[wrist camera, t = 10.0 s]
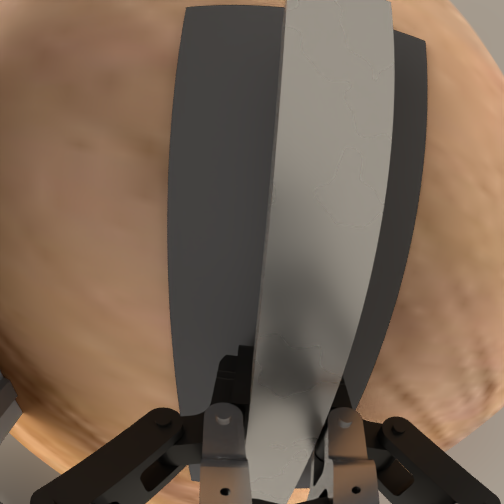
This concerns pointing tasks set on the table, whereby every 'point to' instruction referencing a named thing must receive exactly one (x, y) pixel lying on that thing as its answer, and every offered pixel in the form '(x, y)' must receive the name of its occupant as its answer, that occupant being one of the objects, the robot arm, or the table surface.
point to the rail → (318, 225)
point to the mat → (261, 195)
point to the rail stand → (7, 407)
